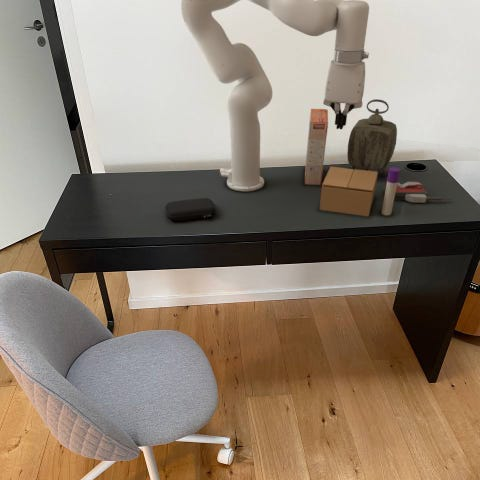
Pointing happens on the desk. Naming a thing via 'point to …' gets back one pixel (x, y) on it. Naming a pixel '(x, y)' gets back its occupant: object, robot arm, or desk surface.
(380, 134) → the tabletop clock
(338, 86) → the robot arm
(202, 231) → the desk surface
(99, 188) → the desk surface
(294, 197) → the desk surface
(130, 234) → the desk surface
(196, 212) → the carrying case
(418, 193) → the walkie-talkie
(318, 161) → the cracker box
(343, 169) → the flap
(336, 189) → the carton
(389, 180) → the marker
